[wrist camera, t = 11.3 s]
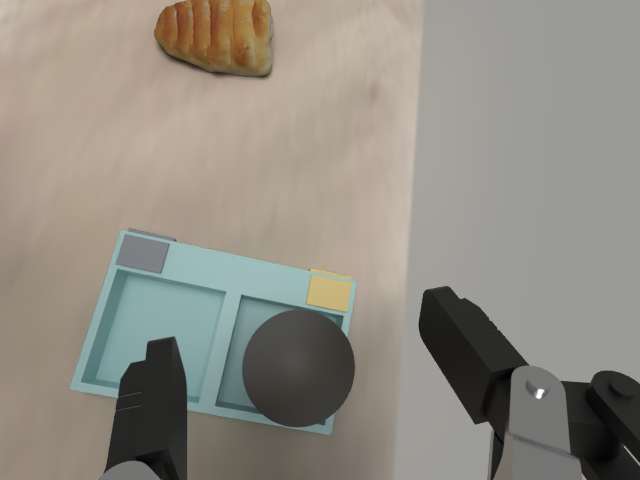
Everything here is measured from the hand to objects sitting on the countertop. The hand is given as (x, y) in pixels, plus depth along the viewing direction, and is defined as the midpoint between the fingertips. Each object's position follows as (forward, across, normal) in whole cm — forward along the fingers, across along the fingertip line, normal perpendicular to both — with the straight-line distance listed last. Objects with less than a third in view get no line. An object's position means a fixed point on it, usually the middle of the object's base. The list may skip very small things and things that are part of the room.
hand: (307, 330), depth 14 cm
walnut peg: (+11, 0, +13) cm, 17 cm away
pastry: (+30, 0, -4) cm, 30 cm away
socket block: (+13, +3, +12) cm, 18 cm away
